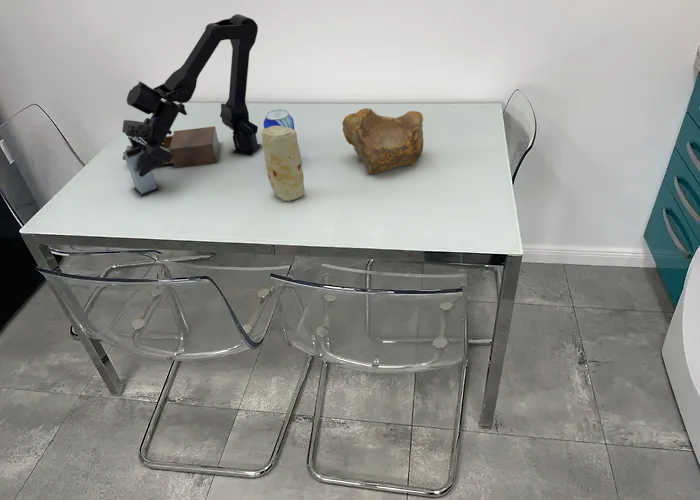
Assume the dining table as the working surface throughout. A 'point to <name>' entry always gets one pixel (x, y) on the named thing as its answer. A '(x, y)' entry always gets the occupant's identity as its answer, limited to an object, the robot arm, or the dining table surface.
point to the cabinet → (194, 147)
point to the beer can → (278, 119)
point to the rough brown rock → (384, 138)
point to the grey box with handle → (134, 164)
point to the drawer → (167, 146)
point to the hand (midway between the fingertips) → (135, 171)
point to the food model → (283, 162)
